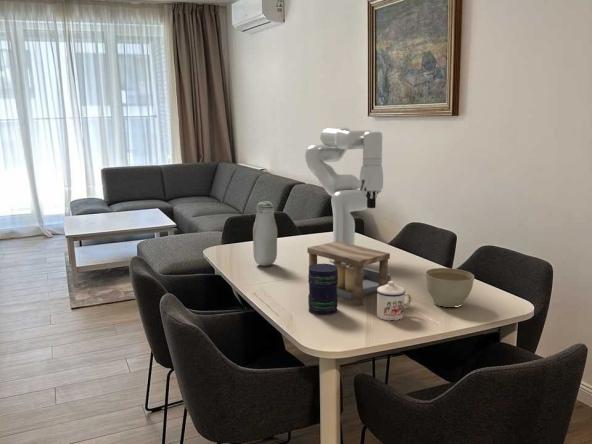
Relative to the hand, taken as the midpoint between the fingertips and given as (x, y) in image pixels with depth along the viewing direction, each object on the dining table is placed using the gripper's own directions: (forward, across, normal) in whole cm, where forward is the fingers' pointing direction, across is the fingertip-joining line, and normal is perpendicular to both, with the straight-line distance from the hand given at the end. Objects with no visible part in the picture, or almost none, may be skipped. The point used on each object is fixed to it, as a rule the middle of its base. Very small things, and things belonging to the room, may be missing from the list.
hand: (371, 207), depth 231 cm
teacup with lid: (+27, +33, +40) cm, 59 cm away
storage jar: (+27, +47, +21) cm, 58 cm away
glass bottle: (+27, +26, -37) cm, 53 cm away
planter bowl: (+27, +10, +45) cm, 54 cm away
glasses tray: (+27, +21, +13) cm, 37 cm away
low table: (+27, +27, +13) cm, 40 cm away
